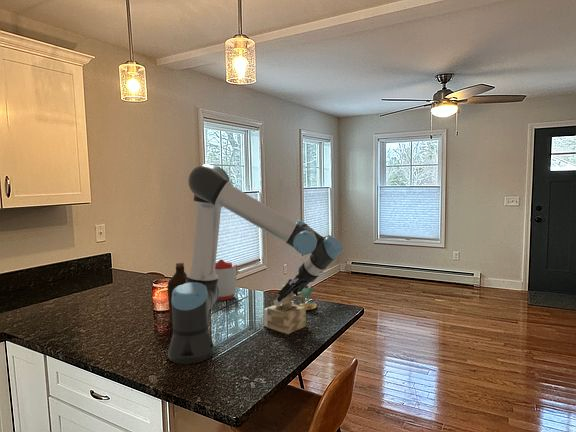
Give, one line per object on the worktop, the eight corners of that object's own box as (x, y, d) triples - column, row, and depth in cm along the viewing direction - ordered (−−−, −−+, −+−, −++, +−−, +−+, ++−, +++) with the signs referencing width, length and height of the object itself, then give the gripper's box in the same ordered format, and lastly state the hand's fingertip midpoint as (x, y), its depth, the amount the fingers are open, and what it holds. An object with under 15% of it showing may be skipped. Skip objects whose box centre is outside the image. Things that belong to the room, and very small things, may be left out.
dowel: (287, 322, 153) (287, 287, 152) (279, 319, 156) (279, 285, 155) (293, 319, 156) (293, 285, 155) (286, 317, 159) (286, 283, 158)
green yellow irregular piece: (283, 311, 176) (285, 279, 176) (308, 306, 189) (310, 276, 189) (300, 316, 169) (301, 282, 169) (324, 310, 183) (326, 279, 183)
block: (288, 334, 149) (287, 313, 148) (267, 327, 156) (267, 308, 155) (305, 326, 157) (305, 307, 156) (285, 320, 164) (285, 301, 163)
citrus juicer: (245, 298, 196) (245, 259, 195) (214, 304, 187) (213, 263, 185) (232, 291, 209) (231, 254, 208) (201, 296, 200) (200, 258, 198)
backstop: (268, 327, 156) (268, 310, 156) (264, 325, 158) (263, 308, 157) (294, 316, 168) (293, 301, 168) (289, 315, 170) (289, 300, 169)
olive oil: (190, 326, 158) (189, 265, 156) (165, 326, 158) (163, 266, 156) (197, 317, 169) (195, 260, 167) (173, 317, 169) (171, 260, 167)
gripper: (302, 281, 138) (269, 316, 150) (330, 272, 151) (298, 305, 163) (291, 264, 141) (259, 300, 153) (320, 257, 154) (289, 290, 166)
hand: (280, 302), depth 158 cm, fingers open, 4 cm apart
